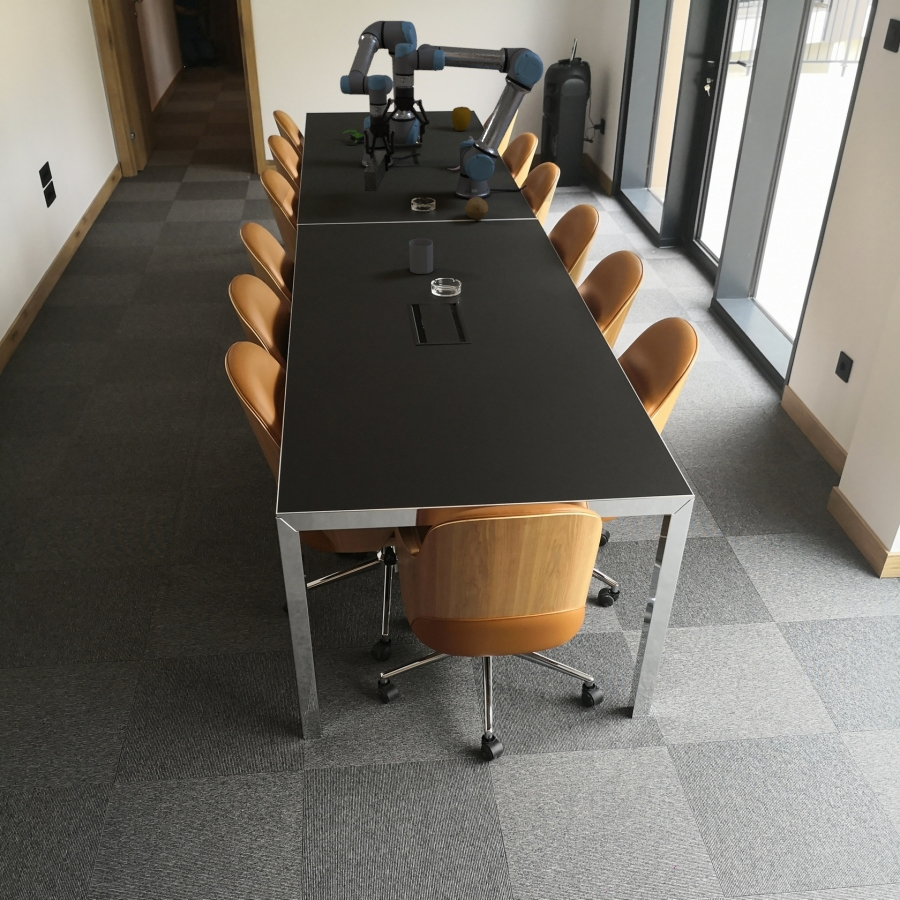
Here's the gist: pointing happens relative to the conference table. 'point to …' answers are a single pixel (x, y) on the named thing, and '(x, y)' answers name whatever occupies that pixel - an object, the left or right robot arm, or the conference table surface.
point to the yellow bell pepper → (461, 118)
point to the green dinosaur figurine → (354, 137)
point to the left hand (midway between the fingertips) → (381, 170)
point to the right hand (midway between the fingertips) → (404, 141)
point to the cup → (421, 256)
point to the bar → (375, 171)
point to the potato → (476, 208)
